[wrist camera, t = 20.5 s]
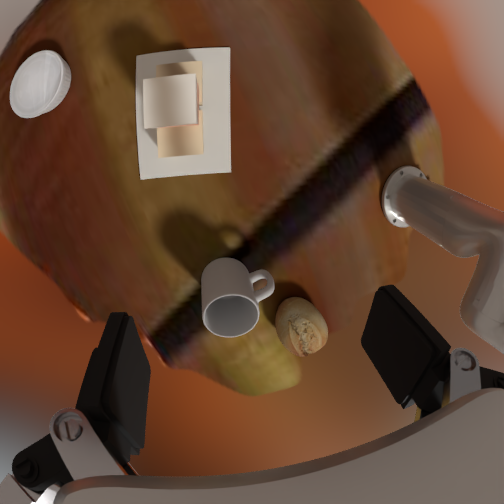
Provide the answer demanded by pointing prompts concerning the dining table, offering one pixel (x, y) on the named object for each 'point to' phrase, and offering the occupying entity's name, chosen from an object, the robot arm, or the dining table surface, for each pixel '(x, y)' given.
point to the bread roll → (300, 326)
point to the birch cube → (170, 101)
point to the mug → (232, 297)
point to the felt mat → (213, 109)
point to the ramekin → (39, 84)
